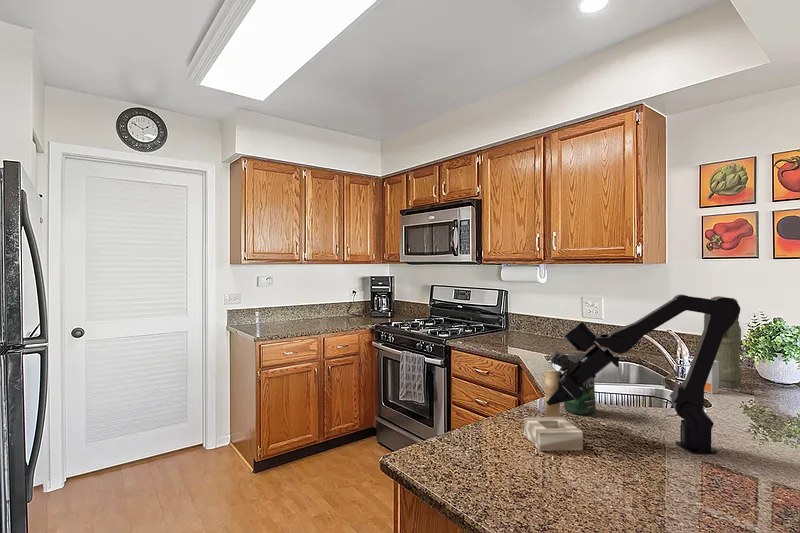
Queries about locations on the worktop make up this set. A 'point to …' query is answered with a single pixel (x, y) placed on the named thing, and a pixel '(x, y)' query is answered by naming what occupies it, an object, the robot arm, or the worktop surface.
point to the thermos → (730, 357)
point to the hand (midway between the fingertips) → (548, 399)
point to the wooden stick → (551, 392)
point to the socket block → (553, 434)
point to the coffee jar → (587, 400)
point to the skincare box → (713, 379)
